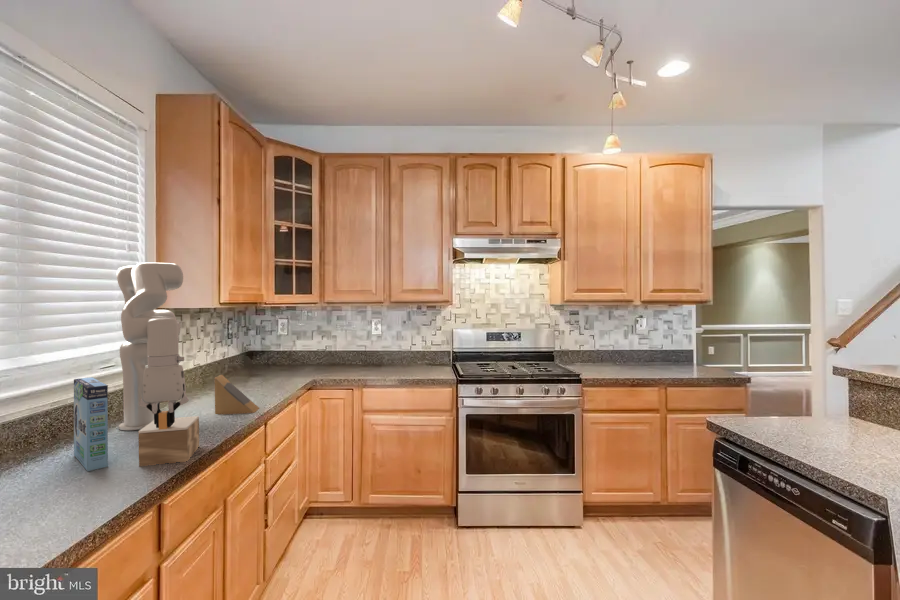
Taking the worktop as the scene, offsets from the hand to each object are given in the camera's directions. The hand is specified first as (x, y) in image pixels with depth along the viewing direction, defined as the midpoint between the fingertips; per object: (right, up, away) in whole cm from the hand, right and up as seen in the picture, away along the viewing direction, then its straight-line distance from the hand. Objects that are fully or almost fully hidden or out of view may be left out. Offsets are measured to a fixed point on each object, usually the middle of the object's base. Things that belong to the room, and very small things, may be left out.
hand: (164, 425), depth 133 cm
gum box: (-22, -11, +2) cm, 25 cm away
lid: (-1, -1, +5) cm, 6 cm away
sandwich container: (-6, -10, +59) cm, 60 cm away
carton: (-1, -10, +5) cm, 12 cm away
